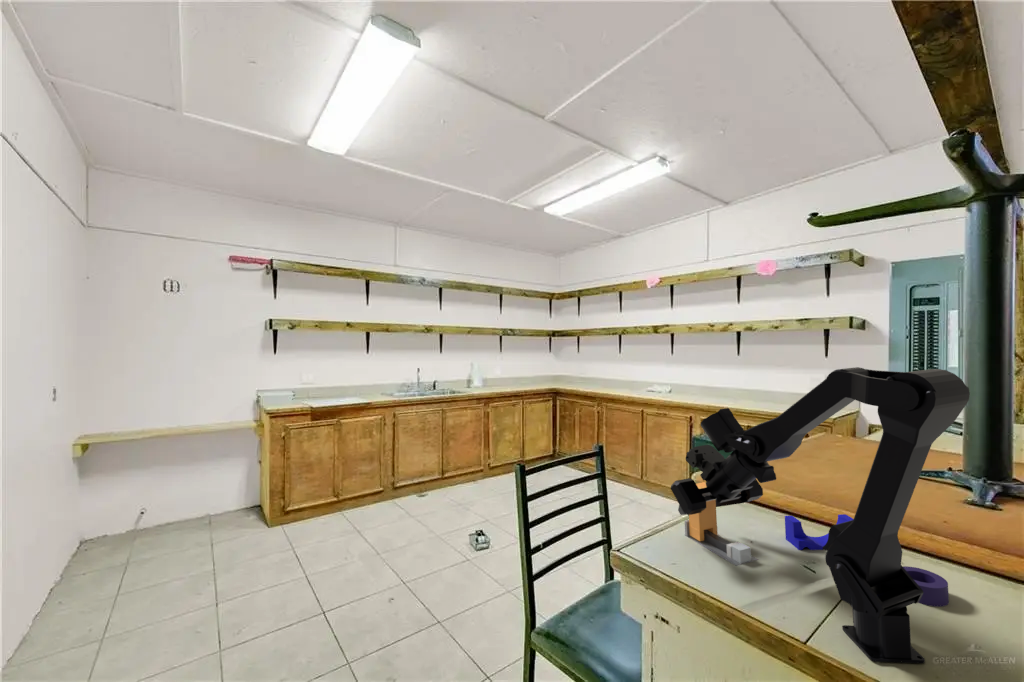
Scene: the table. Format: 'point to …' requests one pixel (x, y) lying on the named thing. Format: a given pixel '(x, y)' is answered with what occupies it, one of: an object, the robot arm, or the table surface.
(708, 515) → the orange block
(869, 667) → the table surface
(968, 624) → the table surface
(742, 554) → the grey pronged base
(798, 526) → the cable clip
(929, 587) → the lever
